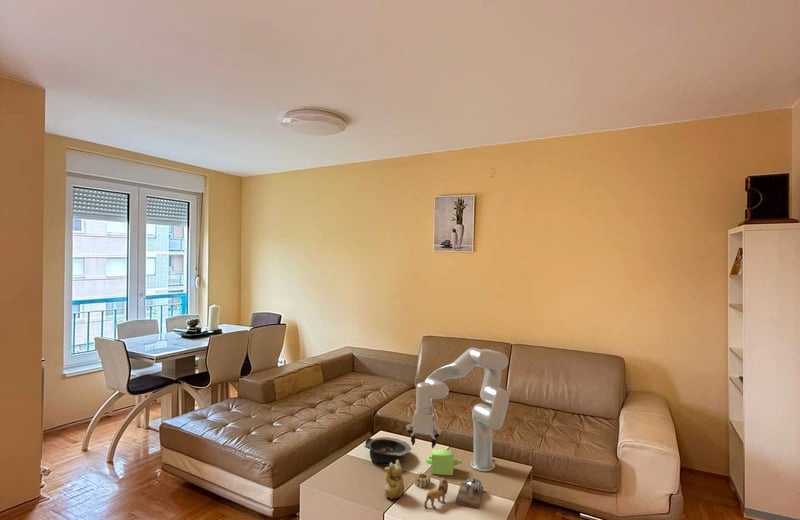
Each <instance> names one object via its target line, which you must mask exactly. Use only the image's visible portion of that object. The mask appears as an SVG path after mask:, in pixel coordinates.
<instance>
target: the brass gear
mask: <svg viewBox="0 0 800 520" xmlns="http://www.w3.org/2000/svg"><path fill="white" fill-rule="evenodd" d="M414 485H416V487H419V488H420V489H421V488H423V489H426V488H429V487H430V486H431V475H430V474H429V473H426V472H419V473H418V472H417V473H416V474H415V475H414Z"/></svg>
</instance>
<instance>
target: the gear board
mask: <svg viewBox="0 0 800 520" xmlns="http://www.w3.org/2000/svg"><path fill="white" fill-rule="evenodd" d="M482 492H484V486H483V485H482V489H481V491H479V493H477V492H475V493H473V488H469V491H467V490H466V489H465V482H461V483H460V486H459V489H458V493H457V495H456V498H455V505H457V506H461V507H466V508H467V507H468V508H472V509H473V508H474V509H477V508H479V509H480V506H479V505H481V502H482V496H483V493H482Z"/></svg>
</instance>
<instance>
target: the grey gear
mask: <svg viewBox="0 0 800 520" xmlns="http://www.w3.org/2000/svg"><path fill="white" fill-rule="evenodd" d="M464 483H465V489H466V490H467V491H469V488H473V493H475V492H477V493H479V491H481V489H482V486H483V485H482V481H481V480H480V479H478V478H474V477H471V478H470V477H468V478H467V479H465V480H464Z"/></svg>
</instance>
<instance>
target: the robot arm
mask: <svg viewBox="0 0 800 520" xmlns="http://www.w3.org/2000/svg"><path fill="white" fill-rule="evenodd" d="M508 364H509V359H508V357H507V355H506V354H505V353H503V352H501V351H497V350H494V349H489V348H483V349H481V348H478V347H474V346H473V347H469V348H468V349H466V350H465V351H464V352H463V353H462V354H461V355H459V357H457V358H456V359H455V360H454V361H453V362H452V363H450V364H446V365H444V366H442V367H439V368H438V369H436V370H434V371H433V372H431V374H430V375H428V376H427V377H426V379H425V380H424V381H422V382H418V383H417V384H416V386H415V389H416V390H415V391H416V392H415V393H416V394H415V410H414V414H413V421H412V422H411V423H409V424H406V425H405V428H406V431H407V432H408V434H409V435H410V442H411V445H412V446H414V445H415V443H416V434H418V435H426V436H430V437H431V438H432V439H431V448H432V449H435V447H436V445H437V438H439V437H440V435H441V433H442V428H440V427H438V426H437V425H436V423H435V422H436V421H435V413H434V412H435V411H436V409H435V407H433V399H444V398H446V397H447V396H448V395H449V392H450V388H449V386H448V385H447V384H446V383H445V381H447V380H451V379H454V380H455V379H460V378H464V377H465V376H466V375H468V374H469V372H471V370H472V369H474V368H475V367H480V368H482V369H484V375H483V381H482V384H481V389H480V393H479V398H480V400H482V401H483V402H484V403H477V404H475V405H474V406H473V407H472V411H471V418H472V422H473V423H472V424H473V457H472V458H473V459H471V460H470V462H469V463H470V467H471V468H472V469H473V470H476V471H479V472H492V471H493V470H495V468H496V464H495V462H494V461H493V430H494V431H498V430H500V429H501V428H502V426H503V424H504V422H505V418H506V416H507V415H506V414H507V410H508V406H509V401H510V396H509V394H508V392H507V390H506V389H504V388H502V387H500V386H501V380H502V370H504V369H506V368H507V366H508ZM485 403H487V404H490V405H491V406H490V405H487V404H485ZM411 427H412V429H411ZM435 431H436V432H437V433H435Z"/></svg>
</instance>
